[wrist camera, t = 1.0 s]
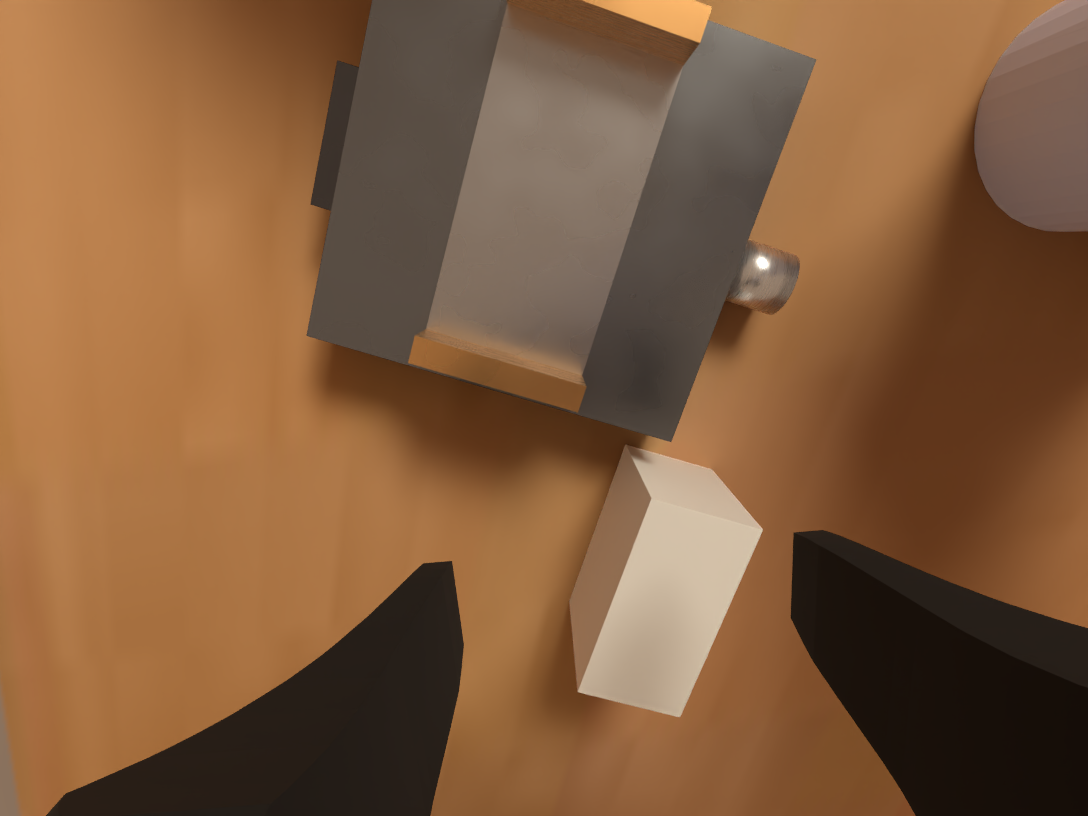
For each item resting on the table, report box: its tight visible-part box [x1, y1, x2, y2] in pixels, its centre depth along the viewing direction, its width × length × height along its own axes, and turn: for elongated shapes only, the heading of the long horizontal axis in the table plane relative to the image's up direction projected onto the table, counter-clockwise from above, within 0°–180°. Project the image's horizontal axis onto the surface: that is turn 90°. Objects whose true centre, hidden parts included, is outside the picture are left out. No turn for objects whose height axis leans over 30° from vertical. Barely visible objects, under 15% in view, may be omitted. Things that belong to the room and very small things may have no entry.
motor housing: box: [307, 0, 816, 442], centre depth 16 cm, size 15×12×4 cm
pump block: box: [569, 444, 763, 717], centre depth 19 cm, size 4×7×5 cm, turn 163°
